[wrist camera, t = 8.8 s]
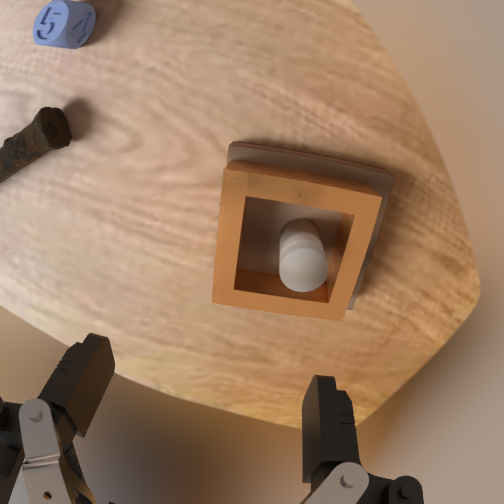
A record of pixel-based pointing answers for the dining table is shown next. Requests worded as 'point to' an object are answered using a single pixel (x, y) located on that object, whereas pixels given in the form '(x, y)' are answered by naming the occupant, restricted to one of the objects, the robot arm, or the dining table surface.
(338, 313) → the link
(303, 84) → the dining table surface
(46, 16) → the decorative dice
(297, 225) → the keeper
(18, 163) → the hand tool
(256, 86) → the dining table surface
